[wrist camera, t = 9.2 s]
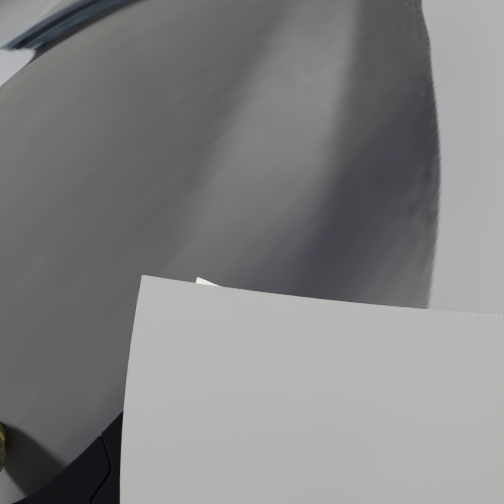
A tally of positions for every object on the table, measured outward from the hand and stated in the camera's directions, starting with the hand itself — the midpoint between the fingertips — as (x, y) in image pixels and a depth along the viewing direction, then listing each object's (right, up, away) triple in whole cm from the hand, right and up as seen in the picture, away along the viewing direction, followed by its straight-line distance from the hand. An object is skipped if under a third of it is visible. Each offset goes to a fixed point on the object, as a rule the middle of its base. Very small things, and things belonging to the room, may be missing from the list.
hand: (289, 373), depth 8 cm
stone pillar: (-1, -3, +6) cm, 7 cm away
